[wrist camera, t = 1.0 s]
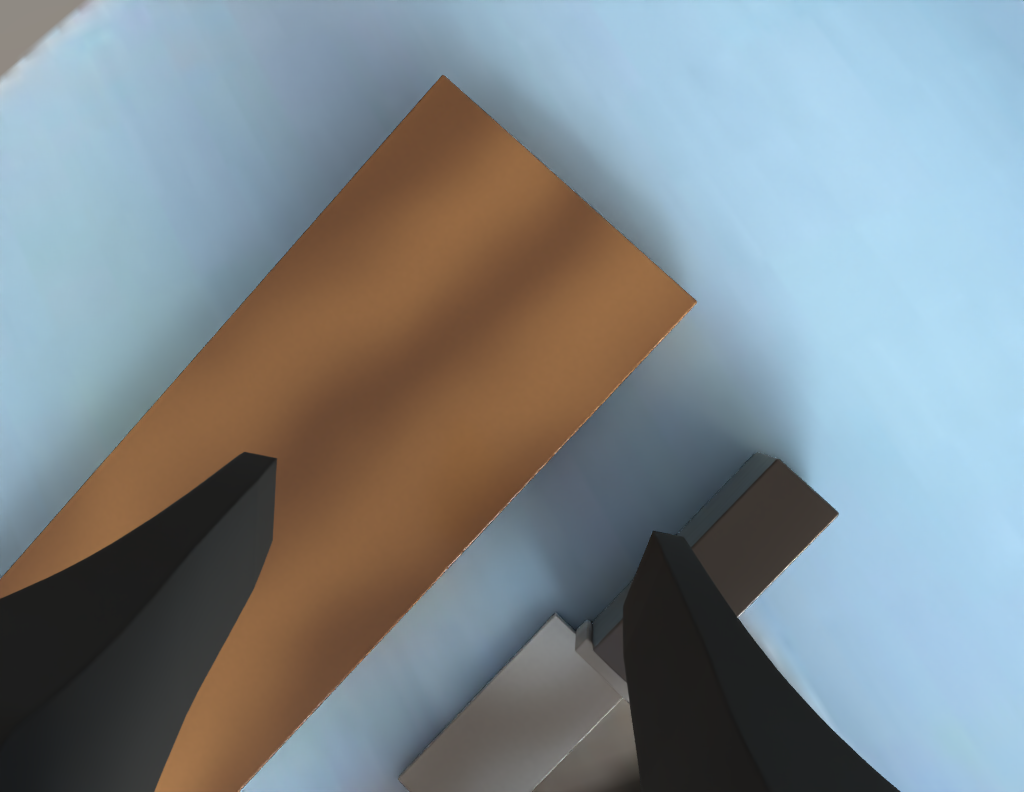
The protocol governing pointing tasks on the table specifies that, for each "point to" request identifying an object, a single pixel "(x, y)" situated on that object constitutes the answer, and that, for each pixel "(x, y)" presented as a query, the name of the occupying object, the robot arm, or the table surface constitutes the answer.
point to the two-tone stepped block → (614, 643)
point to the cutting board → (378, 409)
